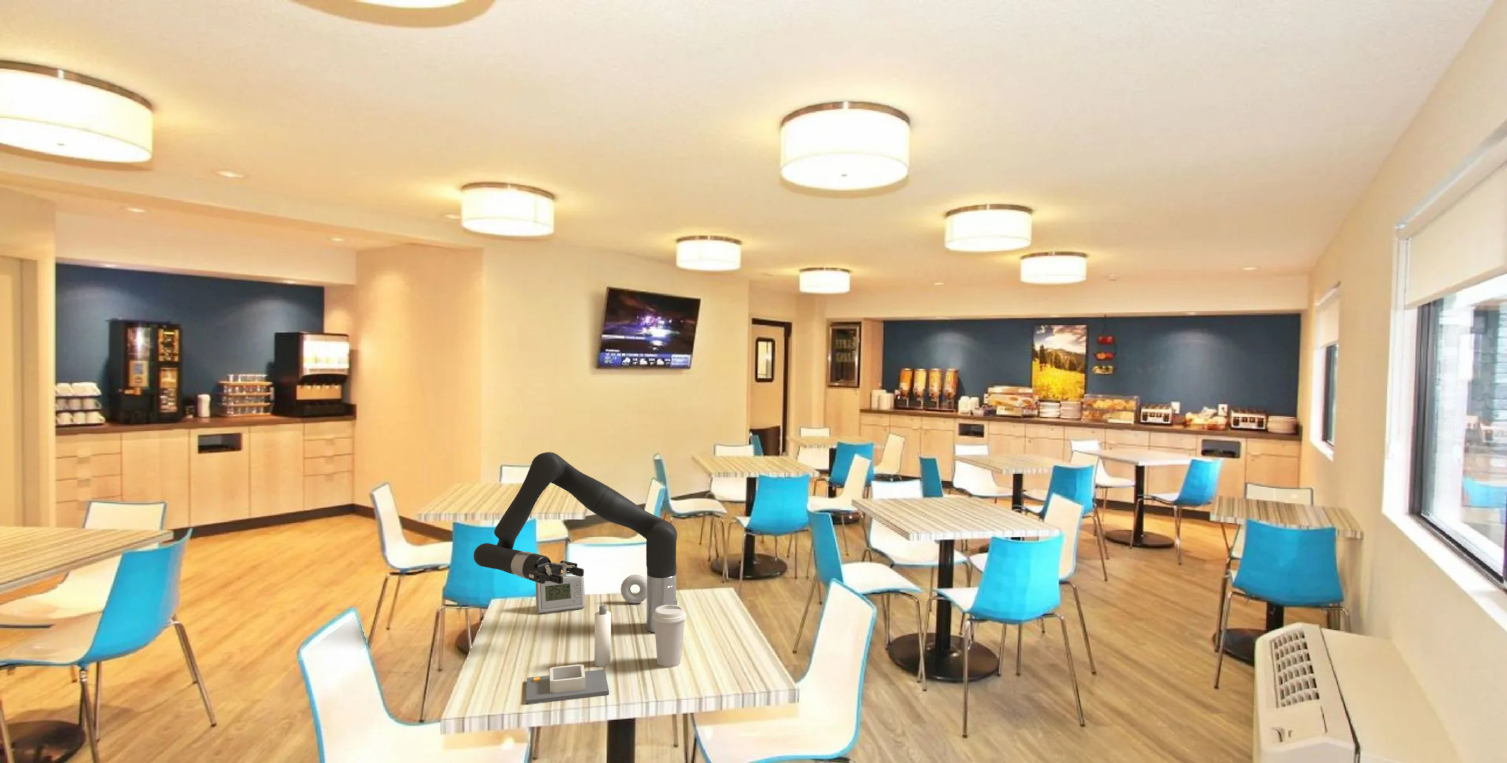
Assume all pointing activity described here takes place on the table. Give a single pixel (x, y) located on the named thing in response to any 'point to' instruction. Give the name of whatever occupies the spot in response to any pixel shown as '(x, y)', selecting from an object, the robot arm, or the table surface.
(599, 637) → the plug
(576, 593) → the digital thermostat
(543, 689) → the floor socket
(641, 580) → the donut
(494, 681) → the table surface
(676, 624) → the coffee cup
